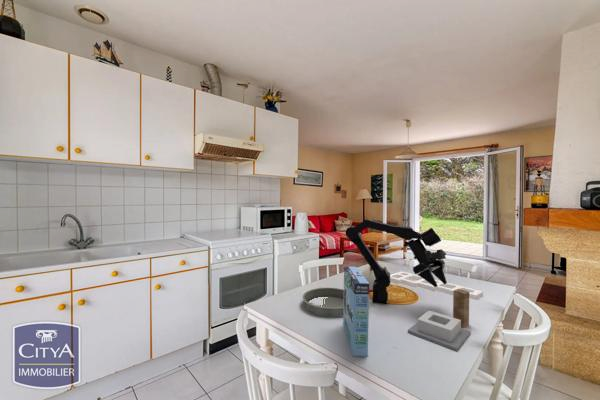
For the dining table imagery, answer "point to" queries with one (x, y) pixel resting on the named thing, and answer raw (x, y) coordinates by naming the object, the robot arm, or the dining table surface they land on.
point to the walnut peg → (461, 306)
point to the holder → (446, 288)
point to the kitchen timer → (369, 277)
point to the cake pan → (326, 301)
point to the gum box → (356, 311)
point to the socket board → (439, 341)
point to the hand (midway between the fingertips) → (441, 285)
